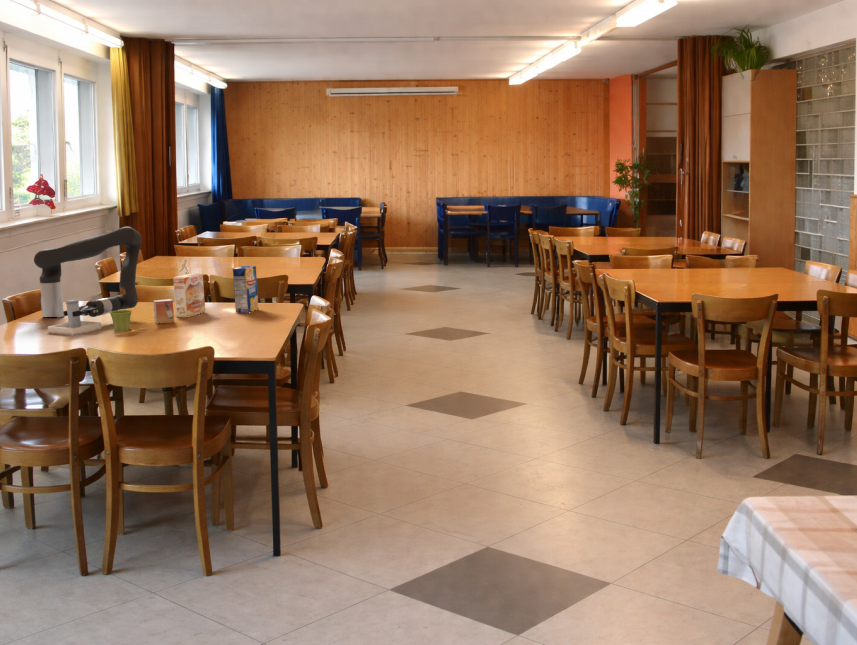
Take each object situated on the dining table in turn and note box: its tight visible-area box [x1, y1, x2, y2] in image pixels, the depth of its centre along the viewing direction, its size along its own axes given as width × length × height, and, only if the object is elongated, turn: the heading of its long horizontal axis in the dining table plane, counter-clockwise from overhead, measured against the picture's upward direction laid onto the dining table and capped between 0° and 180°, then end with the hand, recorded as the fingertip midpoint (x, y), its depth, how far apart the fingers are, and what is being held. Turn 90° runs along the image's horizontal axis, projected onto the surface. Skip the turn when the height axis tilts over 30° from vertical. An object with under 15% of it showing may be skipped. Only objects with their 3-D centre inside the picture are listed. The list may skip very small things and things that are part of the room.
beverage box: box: [232, 265, 259, 314], centre depth 401 cm, size 7×11×22 cm, turn 165°
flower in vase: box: [177, 258, 190, 275], centre depth 421 cm, size 13×11×25 cm
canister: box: [65, 299, 82, 328], centre depth 358 cm, size 5×5×12 cm
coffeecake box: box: [172, 273, 206, 318], centre depth 395 cm, size 15×7×20 cm, turn 160°
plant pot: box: [108, 309, 133, 332], centre depth 360 cm, size 9×9×9 cm
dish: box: [47, 320, 102, 337], centre depth 359 cm, size 15×15×3 cm
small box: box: [153, 298, 175, 325], centre depth 378 cm, size 8×6×10 cm
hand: (68, 314), depth 356 cm, fingers closed on canister, 5 cm apart
